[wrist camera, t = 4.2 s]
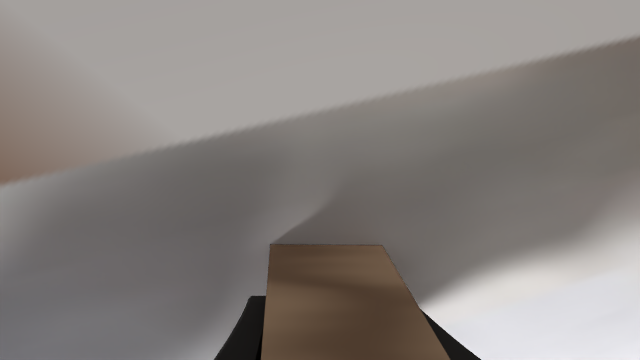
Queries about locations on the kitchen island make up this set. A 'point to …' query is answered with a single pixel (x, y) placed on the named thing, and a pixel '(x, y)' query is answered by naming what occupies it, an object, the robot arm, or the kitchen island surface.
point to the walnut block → (342, 307)
